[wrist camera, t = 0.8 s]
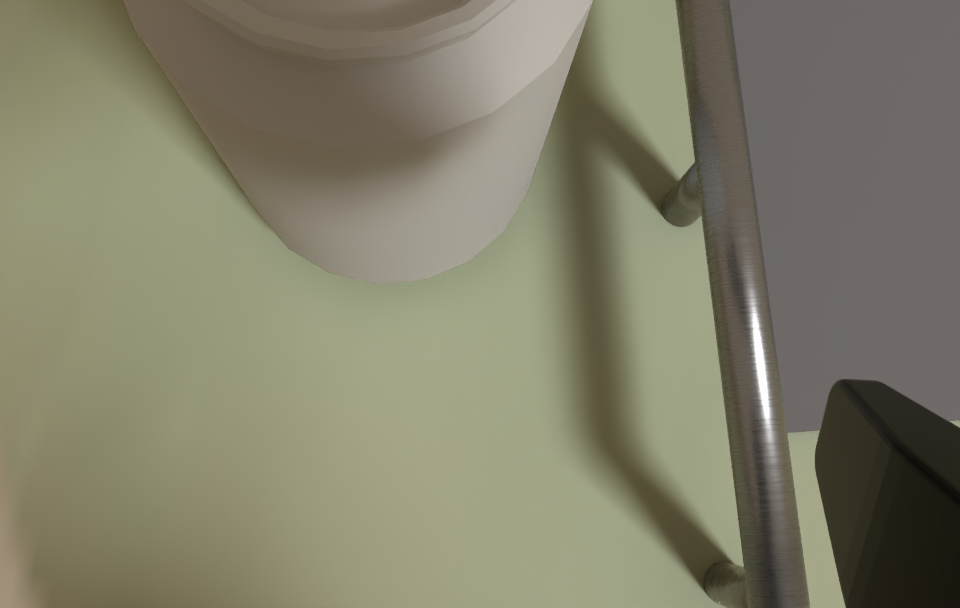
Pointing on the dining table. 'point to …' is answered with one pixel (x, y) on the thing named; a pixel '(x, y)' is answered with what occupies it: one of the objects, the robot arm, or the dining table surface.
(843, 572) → the robot arm
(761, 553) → the rail
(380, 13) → the can
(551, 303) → the dining table surface
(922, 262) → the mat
